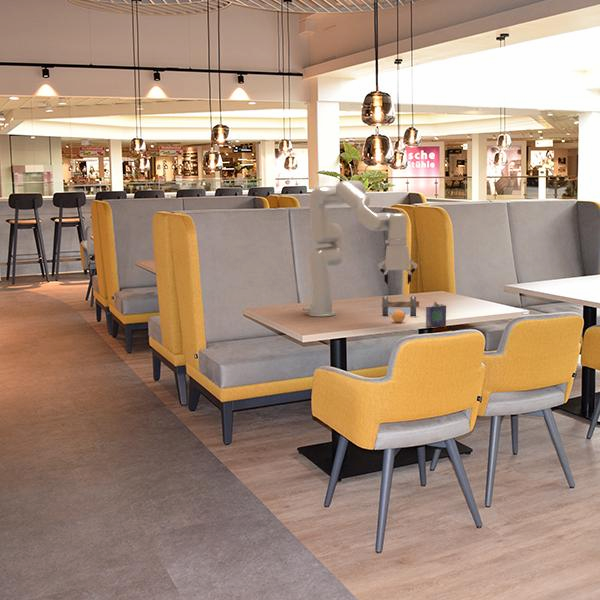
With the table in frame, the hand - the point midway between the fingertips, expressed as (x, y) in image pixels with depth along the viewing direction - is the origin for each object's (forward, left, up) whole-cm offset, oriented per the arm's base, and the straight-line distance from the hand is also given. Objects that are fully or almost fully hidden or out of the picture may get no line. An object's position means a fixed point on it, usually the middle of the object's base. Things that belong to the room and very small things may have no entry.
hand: (397, 283), depth 336 cm
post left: (-6, +25, -18) cm, 32 cm away
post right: (+6, +25, -18) cm, 32 cm away
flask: (+16, 0, -19) cm, 24 cm away
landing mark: (0, +39, -18) cm, 43 cm away
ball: (0, +9, -16) cm, 18 cm away
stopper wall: (0, +53, -18) cm, 57 cm away
